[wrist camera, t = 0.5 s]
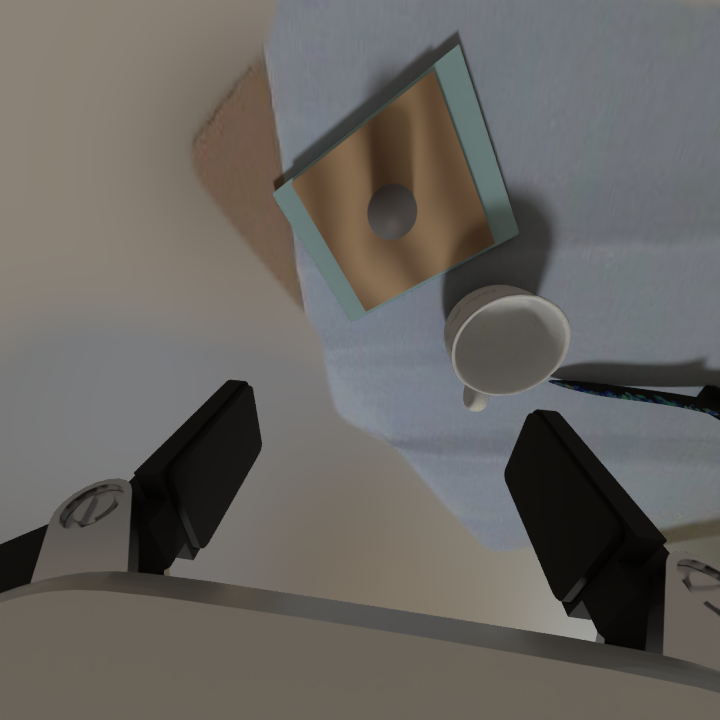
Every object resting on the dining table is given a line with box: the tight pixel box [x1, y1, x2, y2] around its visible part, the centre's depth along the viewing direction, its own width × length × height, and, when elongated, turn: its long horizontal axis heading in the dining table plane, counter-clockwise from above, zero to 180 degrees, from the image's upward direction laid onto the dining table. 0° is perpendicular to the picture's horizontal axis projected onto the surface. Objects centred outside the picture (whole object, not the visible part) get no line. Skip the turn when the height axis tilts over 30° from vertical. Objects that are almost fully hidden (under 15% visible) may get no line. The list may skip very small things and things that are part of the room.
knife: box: [549, 380, 720, 420], centre depth 32 cm, size 31×3×4 cm, turn 84°
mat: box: [272, 44, 520, 322], centre depth 29 cm, size 20×16×1 cm
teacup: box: [444, 285, 571, 411], centre depth 30 cm, size 14×11×8 cm
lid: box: [291, 71, 495, 312], centre depth 25 cm, size 15×15×7 cm
